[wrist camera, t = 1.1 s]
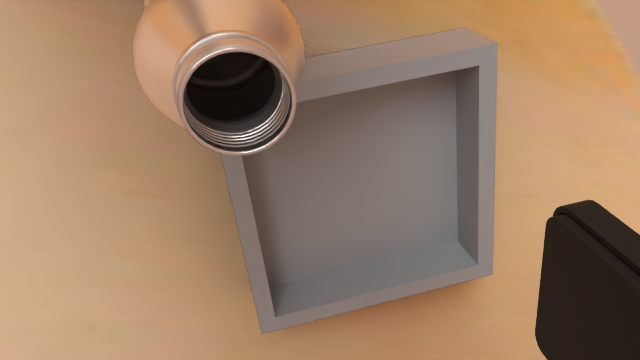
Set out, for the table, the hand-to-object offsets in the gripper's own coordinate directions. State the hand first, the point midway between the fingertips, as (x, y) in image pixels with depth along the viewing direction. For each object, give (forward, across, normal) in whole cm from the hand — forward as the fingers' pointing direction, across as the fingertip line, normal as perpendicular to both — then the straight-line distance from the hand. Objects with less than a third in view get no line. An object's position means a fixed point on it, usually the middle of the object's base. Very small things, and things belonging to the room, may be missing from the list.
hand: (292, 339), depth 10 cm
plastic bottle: (+30, 0, 0) cm, 30 cm away
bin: (+30, -9, +14) cm, 34 cm away
